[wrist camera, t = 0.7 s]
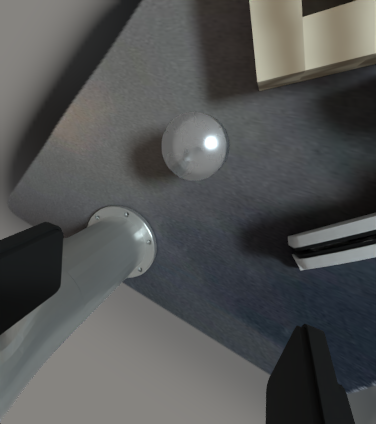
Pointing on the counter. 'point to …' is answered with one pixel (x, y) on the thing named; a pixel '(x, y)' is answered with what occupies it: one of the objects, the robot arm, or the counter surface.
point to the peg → (195, 146)
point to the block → (310, 40)
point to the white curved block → (335, 243)
